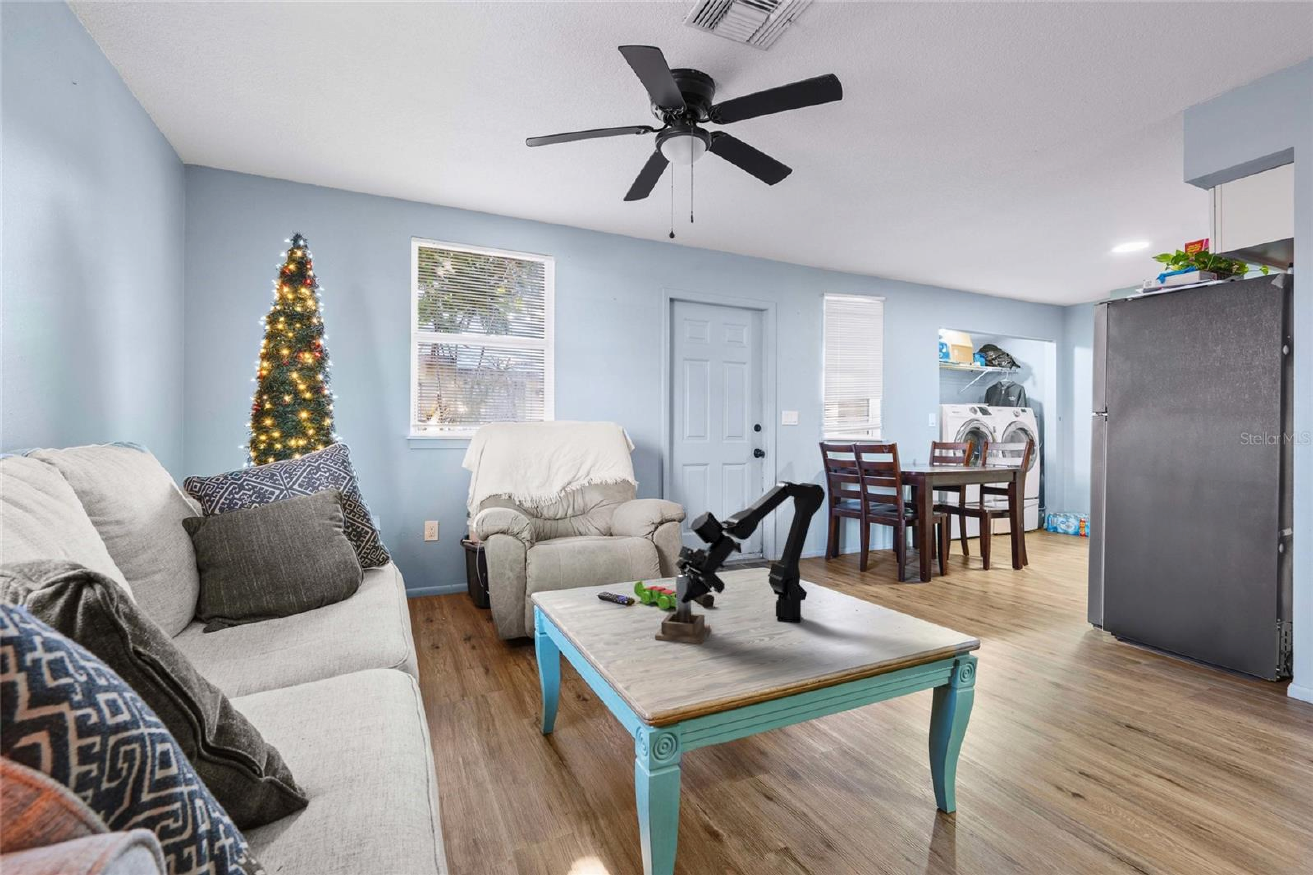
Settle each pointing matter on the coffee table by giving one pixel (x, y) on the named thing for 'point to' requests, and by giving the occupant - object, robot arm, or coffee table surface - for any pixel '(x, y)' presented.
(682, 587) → the steel pin
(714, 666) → the coffee table surface
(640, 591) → the toy crocodile
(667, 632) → the walnut box
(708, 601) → the hand tool
